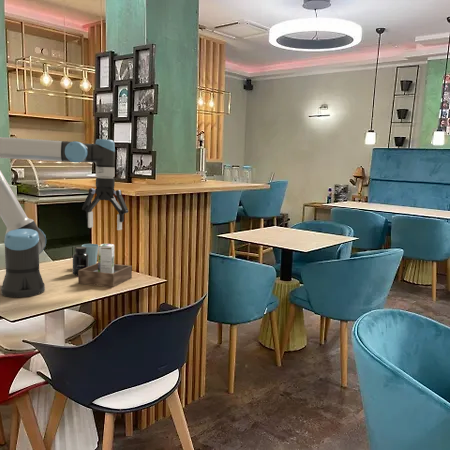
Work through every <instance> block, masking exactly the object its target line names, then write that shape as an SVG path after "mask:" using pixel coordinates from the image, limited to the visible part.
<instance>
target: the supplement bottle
mask: <svg viewBox="0 0 450 450" xmlns="http://www.w3.org/2000/svg"><path fill="white" fill-rule="evenodd" d="M74 252H75V253H74V254H73V255H72V274H73V275H74V276H78V270H81V269H83V268H86V267H89V255H88V254H87V253H86V252H87V251H86V247H82V246H77V247H75V248H74Z"/></svg>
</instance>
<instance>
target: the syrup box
mask: <svg viewBox="0 0 450 450" xmlns="http://www.w3.org/2000/svg"><path fill="white" fill-rule="evenodd" d="M97 263H98V272H103V273H114V264H115V244H113V243H101V244H100V245H98V254H97Z"/></svg>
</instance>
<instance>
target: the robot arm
mask: <svg viewBox="0 0 450 450" xmlns="http://www.w3.org/2000/svg"><path fill="white" fill-rule="evenodd" d="M115 146H116V145H115V141H114V140H112V139H107V138H105V139H102V138H99V139H98V138H97V139H96V140H95V143H83V142H80V141H75V140H74V141H68V140H67V141H66V140H52V139H51V140H50V139H37V138H21V137H20V138H19V137H6V136H5V137H4V136H3V137H2V136H0V159H7V160H8V159H11V160H14V159H15V160H31V161H48V162H49V161H52V162H65V163H66V162H68V163H69V162H70V163H94V164H95V177H96V178H95V188H88V194H87V196H86V199H85V200H84V203H83V205H82V208H81V210H82V211H85V212H86V213H85V214H86V215H85V216H86V217H85V218H86V220H87V228H89V229H91V228H94V211H93V209H94V208H95V207H96V206H97V204H98V203H99V202H100V201H109V202H110V203H111V204H112V206H113V207H114V209H115V210H116V211H117V213H118V214H117V215H116V217H117V219H116V223H117V225H116V226H117V227H116V230H117V231H122V230H123V223H124V221H125V214H127V213H129V209H128V206H127V204H126V202H125V200H124V197H123V195H122V194H123V193H122V190H121V189H117V190H115V187H116V186H115V174H116V172H115V164H116V163H115V162H116V161H115V160H116V158H115V157H116V149H115ZM95 194H96V196H95ZM115 196H116V197H115ZM116 199H117V200H116ZM0 219H1V220H2V221H3V223H4V225H5V227H6V230H5V234H4V240H3V244H4V257H5V258H4V261H5V274H4V278H3V281H2V285H1V287H0V289H1V291H0V292H1V296H4V297H7V298H8V297H9V298H27V297H33V296H37V295H41V294H43V293H44V292H45V291H46V289H45V288H46V287H45V286H46V285H45V283H44V281H43V277H42V274H41V272H40V255H41V254H42V252H43V251H44V250H45V248H46V246H47V245H46V244H47V238H46V234H45V233H44V231H43V230H42V229H41V228H39V227H38V225H37V223H36V222H35V220H34V219H32V218H29V217H28V216H27V214H26V212H25V210H24V209H23V207H22V206H21V203H20V202H19V200H18V198H17V196H16V195H15V193H14V192H13V190H12V188H11V185H10V184H9V183H8V180H6V177H5V176H4V174H3V172H2V170H1V169H0Z"/></svg>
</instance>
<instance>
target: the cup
mask: <svg viewBox="0 0 450 450" xmlns="http://www.w3.org/2000/svg"><path fill="white" fill-rule="evenodd" d="M81 247H86V251H87V252H86V253H87V254H88V255H89V266H91V265H94V264H97V263H98V247H99V244H97V243H96V244H95V243H84V244H82V245H81Z"/></svg>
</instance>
